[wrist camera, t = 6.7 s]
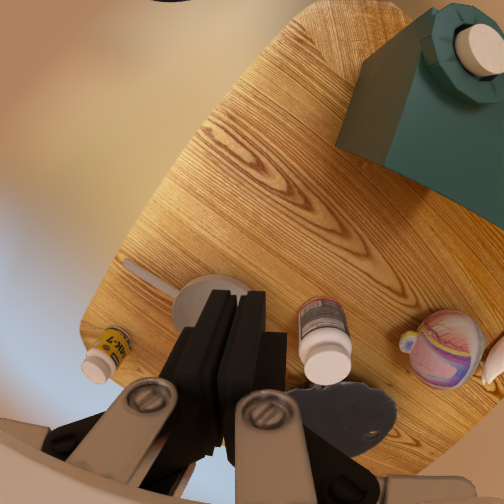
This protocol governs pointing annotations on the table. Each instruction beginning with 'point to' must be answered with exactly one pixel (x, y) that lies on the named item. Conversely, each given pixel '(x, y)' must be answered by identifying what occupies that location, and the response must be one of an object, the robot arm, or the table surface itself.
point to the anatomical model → (444, 349)
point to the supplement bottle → (106, 354)
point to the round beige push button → (480, 50)
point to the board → (346, 414)
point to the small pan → (189, 293)
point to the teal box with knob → (433, 113)
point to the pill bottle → (324, 341)
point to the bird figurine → (493, 362)
